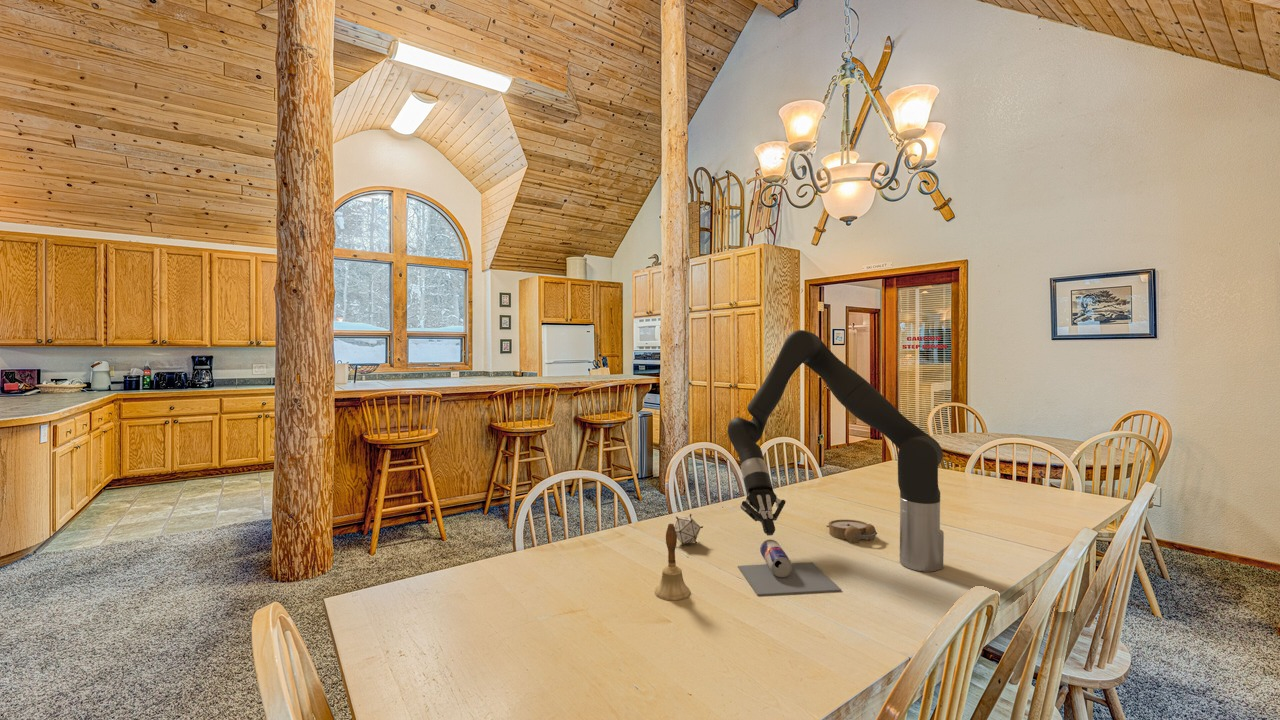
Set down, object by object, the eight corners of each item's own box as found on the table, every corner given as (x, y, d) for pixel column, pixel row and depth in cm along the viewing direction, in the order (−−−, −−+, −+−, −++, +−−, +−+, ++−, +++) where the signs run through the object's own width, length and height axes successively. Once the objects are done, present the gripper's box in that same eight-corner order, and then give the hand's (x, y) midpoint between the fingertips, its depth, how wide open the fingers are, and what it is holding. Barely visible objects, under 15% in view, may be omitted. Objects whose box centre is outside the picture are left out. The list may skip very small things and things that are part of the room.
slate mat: (812, 563, 142) (812, 562, 142) (841, 591, 126) (841, 589, 126) (737, 567, 140) (737, 565, 140) (757, 595, 124) (757, 594, 124)
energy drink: (768, 534, 144) (780, 552, 132) (784, 547, 144) (797, 565, 132) (755, 550, 144) (766, 569, 132) (771, 562, 144) (783, 582, 132)
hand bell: (660, 602, 121) (660, 531, 120) (650, 587, 129) (649, 520, 128) (695, 598, 123) (695, 528, 122) (683, 582, 131) (682, 517, 130)
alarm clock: (850, 517, 170) (885, 523, 156) (852, 534, 170) (887, 541, 156) (820, 521, 167) (853, 528, 153) (822, 538, 166) (855, 546, 152)
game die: (692, 558, 155) (704, 537, 150) (664, 547, 155) (676, 526, 150) (696, 533, 163) (708, 512, 157) (669, 523, 163) (680, 502, 157)
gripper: (736, 471, 153) (749, 528, 141) (781, 469, 154) (798, 526, 142) (731, 485, 158) (743, 541, 146) (775, 483, 160) (790, 539, 148)
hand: (770, 534), depth 144 cm, fingers closed
